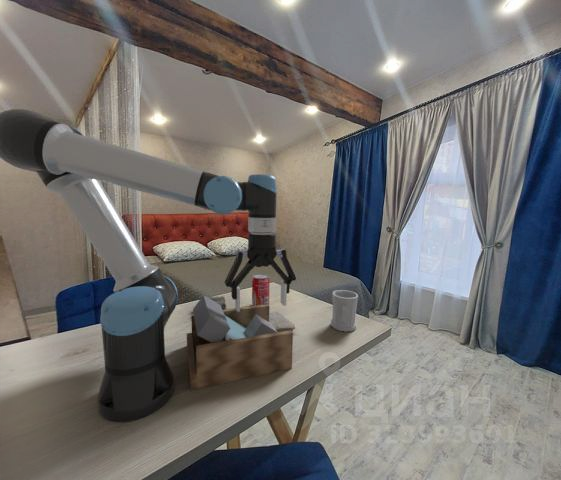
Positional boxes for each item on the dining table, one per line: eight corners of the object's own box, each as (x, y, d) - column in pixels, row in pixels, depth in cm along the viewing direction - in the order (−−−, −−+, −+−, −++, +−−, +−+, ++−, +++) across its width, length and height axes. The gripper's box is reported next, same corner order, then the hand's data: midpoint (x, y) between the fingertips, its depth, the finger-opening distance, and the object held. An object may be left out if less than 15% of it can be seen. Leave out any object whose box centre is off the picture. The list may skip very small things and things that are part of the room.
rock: (195, 309, 109) (195, 293, 108) (213, 303, 115) (213, 289, 114) (217, 319, 100) (217, 302, 99) (234, 312, 107) (235, 297, 106)
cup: (364, 332, 93) (367, 298, 91) (342, 336, 90) (344, 301, 88) (346, 319, 103) (348, 288, 101) (325, 322, 99) (327, 291, 98)
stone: (296, 333, 92) (297, 326, 92) (267, 339, 88) (267, 331, 87) (278, 316, 105) (279, 309, 105) (252, 320, 101) (253, 313, 101)
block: (249, 341, 75) (261, 322, 75) (243, 331, 80) (255, 314, 81) (265, 350, 77) (277, 332, 77) (259, 340, 82) (270, 323, 83)
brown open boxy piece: (190, 390, 63) (189, 350, 62) (186, 345, 82) (185, 314, 80) (291, 368, 72) (292, 332, 71) (267, 332, 91) (267, 304, 90)
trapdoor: (197, 336, 64) (210, 318, 64) (192, 308, 79) (203, 294, 80) (271, 374, 72) (281, 357, 73) (253, 342, 88) (262, 329, 88)
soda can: (272, 305, 115) (273, 275, 113) (262, 311, 109) (262, 279, 107) (258, 301, 119) (259, 272, 117) (248, 307, 112) (248, 276, 111)
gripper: (217, 235, 67) (218, 318, 70) (309, 233, 75) (306, 306, 79) (213, 232, 74) (214, 307, 77) (297, 230, 82) (295, 297, 86)
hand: (261, 307), depth 78 cm, fingers open, 13 cm apart
